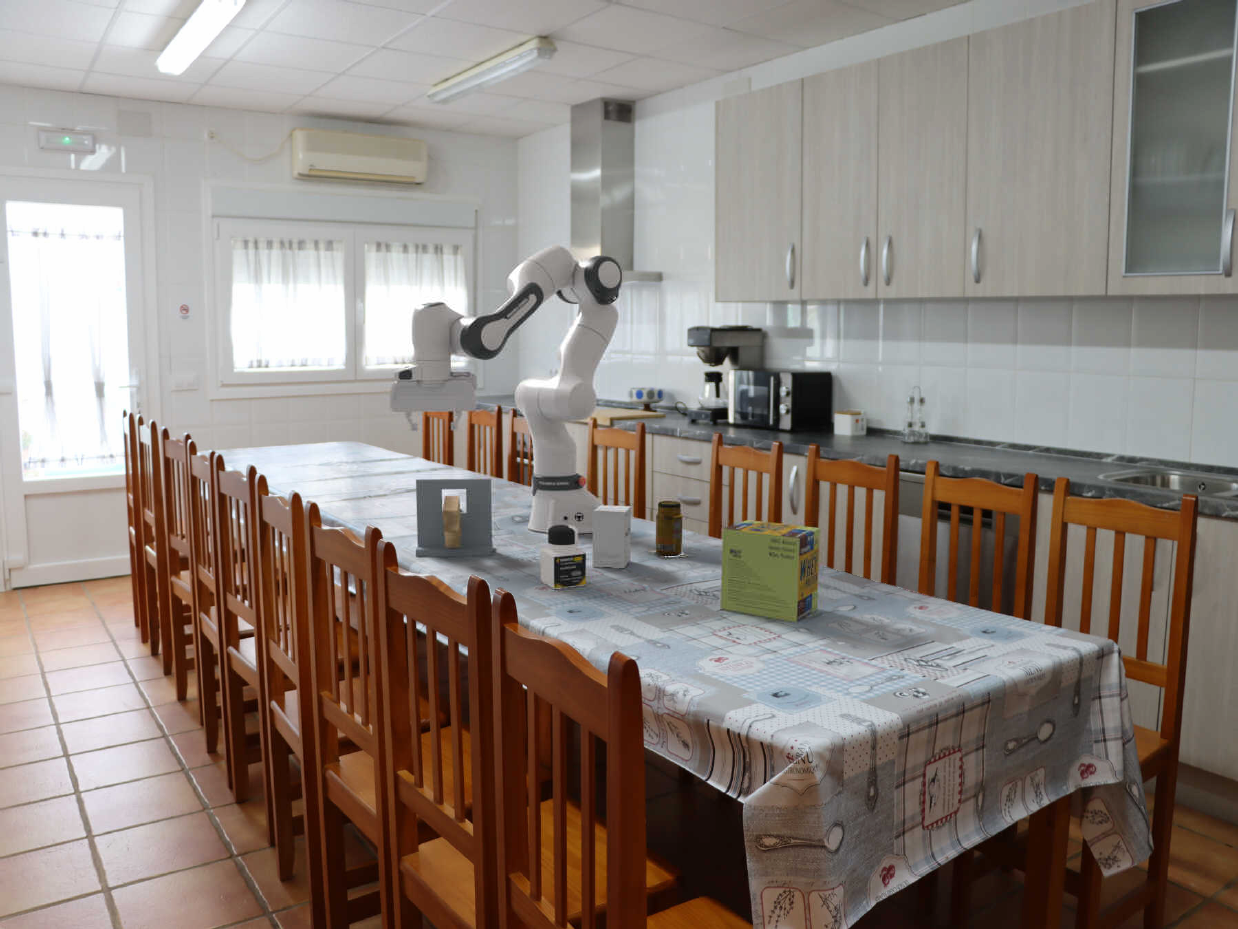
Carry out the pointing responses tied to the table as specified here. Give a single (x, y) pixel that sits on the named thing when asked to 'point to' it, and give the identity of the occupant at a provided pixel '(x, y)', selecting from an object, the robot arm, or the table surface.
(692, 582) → the table surface
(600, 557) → the supplement box
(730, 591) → the protein box
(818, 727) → the table surface
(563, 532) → the medicine bottle
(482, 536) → the slate keyhole board
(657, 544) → the condiment
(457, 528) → the hanger block
